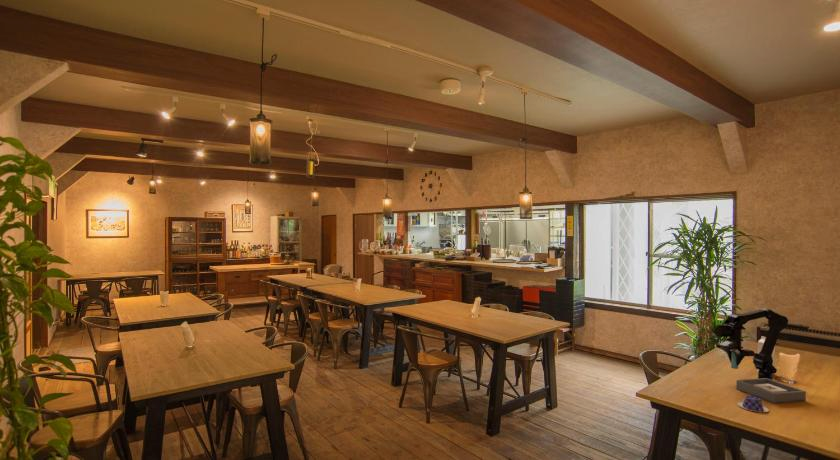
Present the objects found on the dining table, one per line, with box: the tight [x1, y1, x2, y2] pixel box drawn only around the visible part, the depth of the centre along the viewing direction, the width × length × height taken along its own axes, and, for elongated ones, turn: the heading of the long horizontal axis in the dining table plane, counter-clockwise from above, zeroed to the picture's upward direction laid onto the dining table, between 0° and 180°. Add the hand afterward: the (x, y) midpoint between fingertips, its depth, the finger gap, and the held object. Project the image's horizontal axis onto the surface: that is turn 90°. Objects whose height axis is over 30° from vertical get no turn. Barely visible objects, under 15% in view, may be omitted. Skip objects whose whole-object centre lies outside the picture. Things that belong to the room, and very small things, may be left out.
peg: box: [730, 351, 739, 370], centre depth 245 cm, size 3×3×9 cm
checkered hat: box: [737, 395, 770, 413], centre depth 209 cm, size 12×12×5 cm
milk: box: [756, 335, 776, 375], centre depth 261 cm, size 6×6×22 cm
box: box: [735, 378, 807, 405], centre depth 226 cm, size 20×20×5 cm
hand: (734, 364), depth 245 cm, fingers closed on peg, 3 cm apart
